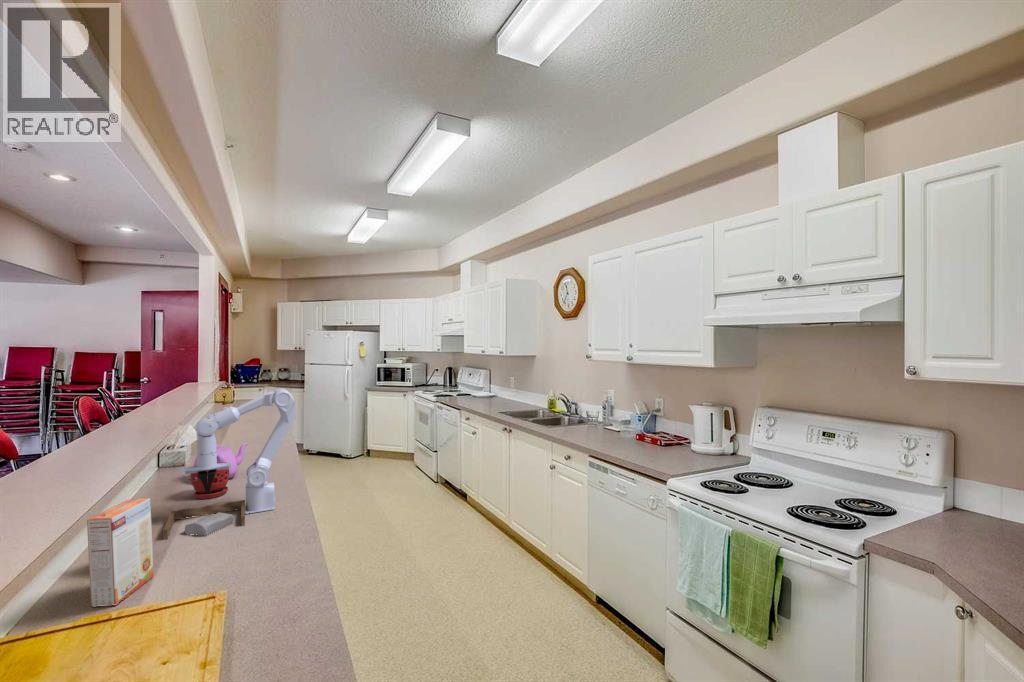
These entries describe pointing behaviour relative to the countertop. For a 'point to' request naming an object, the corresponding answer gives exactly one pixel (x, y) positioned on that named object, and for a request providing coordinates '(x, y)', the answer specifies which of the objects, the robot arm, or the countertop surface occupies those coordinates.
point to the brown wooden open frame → (203, 513)
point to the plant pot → (216, 487)
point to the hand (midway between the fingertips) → (207, 492)
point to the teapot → (229, 457)
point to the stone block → (209, 524)
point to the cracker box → (120, 551)
